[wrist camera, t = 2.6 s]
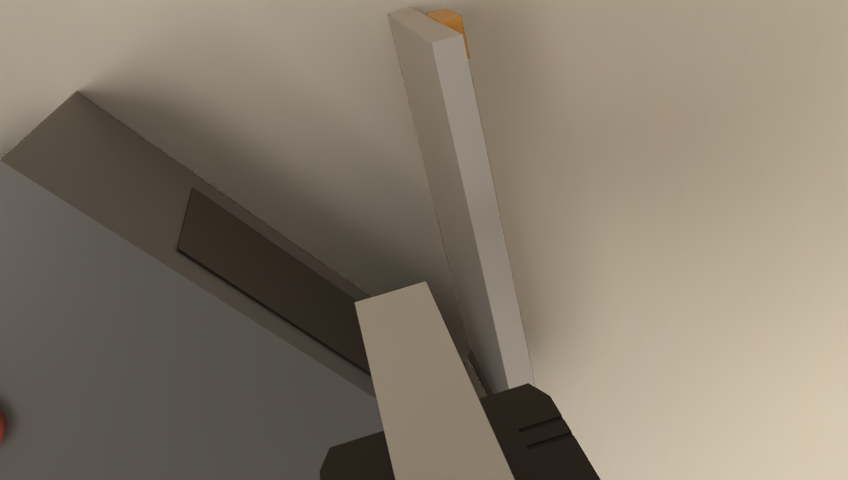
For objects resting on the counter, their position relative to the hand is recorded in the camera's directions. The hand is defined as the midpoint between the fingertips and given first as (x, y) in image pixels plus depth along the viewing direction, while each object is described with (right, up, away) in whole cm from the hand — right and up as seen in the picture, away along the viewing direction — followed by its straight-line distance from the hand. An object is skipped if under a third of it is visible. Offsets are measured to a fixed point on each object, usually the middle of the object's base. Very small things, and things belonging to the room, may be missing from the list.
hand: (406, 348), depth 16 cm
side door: (+1, +4, +12) cm, 13 cm away
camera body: (-7, -2, +13) cm, 15 cm away
